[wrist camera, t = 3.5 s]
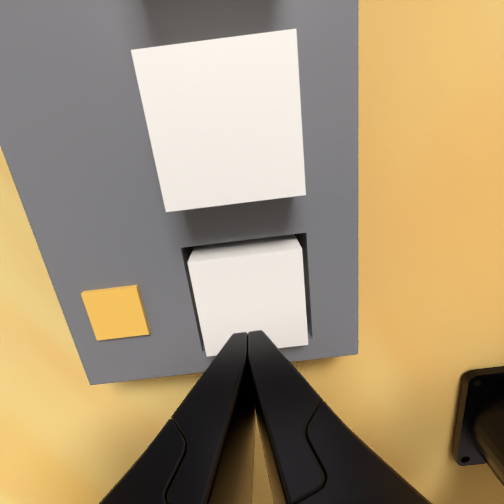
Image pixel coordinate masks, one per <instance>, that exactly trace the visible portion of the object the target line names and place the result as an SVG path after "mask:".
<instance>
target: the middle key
mask: <svg viewBox="0 0 504 504" xmlns="http://www.w3.org/2000/svg"><path fill="white" fill-rule="evenodd" d="M131 53H132V58H133V63H134V67H135V72H136V77H137V81H138V86H139V90H140V95H141V100H142V104H143V109H144V113H145V118H146V123H147V127H148V132H149V137H150V141H151V146H152V150H153V155H154V160H155V164H156V169H157V173H158V178H159V183H160V187H161V192H162V197H163V201H164V206H165V210H166V212H172V211H180V210H188V209H196V208H204V207H212V206H221V205H229V204H237V203H245V202H253V201H261V200H270V199H278V198H286V197H294V196H302V195H306V187H305V170H304V152H303V135H302V118H301V100H300V83H299V66H298V48H297V31H296V29H289V30H281V31H273V32H265V33H258V34H250V35H242V36H234V37H227V38H219V39H211V40H203V41H196V42H188V43H180V44H172V45H165V46H157V47H149V48H142V49H134V50H131Z"/></svg>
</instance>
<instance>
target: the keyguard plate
mask: <svg viewBox="0 0 504 504" xmlns="http://www.w3.org/2000/svg"><path fill="white" fill-rule="evenodd" d="M289 29H296V31H297V48H298V66H299V83H300V100H301V118H302V135H303V152H304V170H305V187H306V195H302V196H294V197H286V198H278V199H270V200H261V201H253V202H245V203H237V204H229V205H221V206H212V207H204V208H196V209H188V210H180V211H172V212H166V210H165V206H164V201H163V197H162V192H161V187H160V183H159V178H158V173H157V169H156V164H155V160H154V155H153V150H152V146H151V141H150V137H149V132H148V127H147V123H146V118H145V113H144V109H143V104H142V100H141V95H140V90H139V86H138V81H137V77H136V72H135V67H134V63H133V58H132V53H131V50H134V49H142V48H149V47H157V46H165V45H172V44H180V43H188V42H196V41H203V40H211V39H219V38H227V37H234V36H242V35H250V34H258V33H265V32H273V31H281V30H289ZM0 146H1V148H2V151H3V154H4V156H5V159H6V162H7V164H8V167H9V170H10V172H11V175H12V178H13V180H14V183H15V186H16V188H17V191H18V194H19V196H20V199H21V202H22V204H23V207H24V210H25V212H26V215H27V218H28V220H29V223H30V226H31V228H32V231H33V234H34V236H35V239H36V242H37V244H38V247H39V250H40V252H41V255H42V258H43V260H44V263H45V266H46V268H47V271H48V274H49V276H50V279H51V282H52V284H53V287H54V290H55V292H56V295H57V298H58V300H59V303H60V306H61V308H62V311H63V314H64V316H65V319H66V322H67V324H68V327H69V330H70V332H71V335H72V338H73V340H74V343H75V346H76V348H77V351H78V354H79V356H80V359H81V362H82V364H83V367H84V370H85V372H86V375H87V378H88V380H89V383H90V385H97V384H105V383H114V382H122V381H131V380H140V379H148V378H157V377H165V376H174V375H183V374H191V373H200V372H205V370H206V369H207V368H208V366H209V365H210V364H211V362H212V361H213V360H214V358H215V357H216V356H217V355H216V356H208V357H207V356H206V351H205V346H204V341H203V337H202V332H201V327H200V322H199V317H198V312H197V307H196V302H195V297H194V292H193V288H192V283H191V278H190V273H189V268H188V263H187V262H188V260H189V258H190V255H191V253H192V251H193V248H194V246H200V245H208V244H216V243H224V242H233V241H241V240H249V239H257V238H266V237H274V236H282V235H291V234H296V237H297V240H298V242H299V244H300V246H301V248H302V255H303V270H304V286H305V301H306V316H307V331H308V345H302V346H294V347H285V348H278V349H279V350H280V351H281V352H282V353H283V354H284V356H285V357H286V358H287V359H288V360H289V361H290V362H295V361H303V360H312V359H321V358H329V357H338V356H346V355H355V354H358V0H0Z"/></svg>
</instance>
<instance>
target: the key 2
mask: <svg viewBox="0 0 504 504" xmlns="http://www.w3.org/2000/svg"><path fill="white" fill-rule="evenodd" d="M187 263H188V268H189V273H190V278H191V283H192V288H193V292H194V297H195V302H196V307H197V312H198V317H199V322H200V327H201V332H202V337H203V341H204V346H205V351H206V356H207V357H208V356H216V355H217V354H218V353H219V352H220V350H221V349H222V347H223V346H224V345H225V343H226V342H227V341H228V339H229V338H230V337H231V335H232V334H233V333H240V332H247V334H248V332H250V331H257V330H262V331H263V332H264V333H265V334H266V335H267V336H268V337H269V338H270V339H271V341H272V342H273V343H274V344H275V345H276V346H277V348H285V347H294V346H302V345H308V331H307V316H306V301H305V286H304V270H303V255H302V248H301V246H300V244H299V242H298V240H297V238H296V236H295V235H294V234H291V235H282V236H274V237H266V238H257V239H249V240H241V241H233V242H224V243H216V244H208V245H200V246H194V248H193V251H192V253H191V255H190V258H189V260H188V262H187Z"/></svg>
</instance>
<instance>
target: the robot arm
mask: <svg viewBox="0 0 504 504" xmlns="http://www.w3.org/2000/svg"><path fill="white" fill-rule="evenodd" d="M255 410H256V414H255ZM256 416H257V422H258V427H259V432H260V437H261V442H262V447H263V452H264V457H265V462H266V467H267V472H268V477H269V482H270V487H271V491H272V496H273V501H274V504H433V503H431V502H430V501H429V500H427V499H426V498H425V497H424V496H423V495H422V494H420V493H419V492H418V491H417V490H416V489H415V488H414V487H413V486H411V485H410V484H409V483H408V482H407V481H406V480H405V479H404V478H403V477H402V476H400V475H399V474H398V473H397V472H396V471H395V470H394V469H393V468H392V467H390V466H389V465H388V464H387V463H386V462H385V461H384V460H383V459H382V458H380V457H379V456H378V455H377V454H376V453H375V452H374V451H373V450H372V449H370V448H369V447H368V446H367V445H366V444H365V443H364V442H363V441H362V440H361V439H360V438H359V437H358V436H357V435H355V434H354V433H353V432H352V431H351V430H350V429H349V428H348V427H347V426H346V425H345V424H344V422H343V421H342V420H341V419H340V418H339V417H338V416H337V415H336V414H335V413H334V412H333V411H332V409H331V408H330V407H329V406H328V405H327V404H326V402H324V401H323V399H322V398H321V397H320V396H319V395H318V393H317V392H316V391H315V390H314V389H313V388H312V387H311V385H310V384H309V383H308V382H307V381H306V380H305V379H304V377H303V376H302V375H301V374H300V373H299V372H298V371H297V369H296V368H295V367H294V366H293V365H292V364H291V362H290V361H289V360H288V359H287V358H286V357H285V356H284V354H283V353H282V352H281V351H280V350H279V349H278V348H277V346H276V345H275V344H274V343H273V342H272V341H271V339H270V338H269V337H268V336H267V335H266V334H265V333H264V332H263V331H262V330H257V331H250V332H248V334H247V332H240V333H233V334H232V335H231V337H230V338H229V339H228V341H227V342H226V343H225V345H224V346H223V347H222V349H221V350H220V352H219V353H218V354H217V356H216V357H215V358H214V360H213V361H212V362H211V364H210V365H209V366H208V368H207V369H206V370H205V372H204V373H203V375H202V376H201V377H200V379H199V380H198V381H197V383H196V384H195V385H194V387H193V388H192V389H191V391H190V392H189V394H188V395H187V396H186V398H185V399H184V400H183V402H182V403H181V404H180V406H179V407H178V408H177V410H176V411H175V412H174V414H173V415H172V417H171V419H169V420H168V422H167V423H166V424H165V426H164V427H163V429H162V430H161V431H160V433H159V434H158V435H157V436H156V438H155V439H154V440H153V441H152V443H151V444H150V445H149V447H148V448H147V449H146V450H145V452H144V453H143V454H142V455H141V456H140V457H139V459H138V460H137V461H136V462H135V463H134V464H133V466H132V467H131V468H130V469H129V470H128V471H127V473H126V474H125V475H124V476H123V477H122V478H121V479H120V480H119V482H118V483H117V484H116V485H115V486H114V487H113V488H112V489H111V490H110V492H109V493H108V494H107V495H106V496H105V497H104V498H103V499H102V501H101V502H100V503H99V504H252V487H253V465H254V444H255V419H256ZM452 456H453V458H454V459H455V461H456V462H457V464H458V465H461V466H466V465H475V464H484V463H487V465H488V466H489V467H490V469H491V470H492V471H493V473H494V474H495V475H496V477H497V478H498V479H499V481H500V482H501V483H502V485H503V486H504V366H502V367H493V368H484V369H476V370H471V371H469V372H467V373H466V374H465V375H464V377H463V383H462V389H461V396H460V403H459V410H458V417H457V424H456V431H455V437H454V444H453V451H452Z"/></svg>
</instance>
